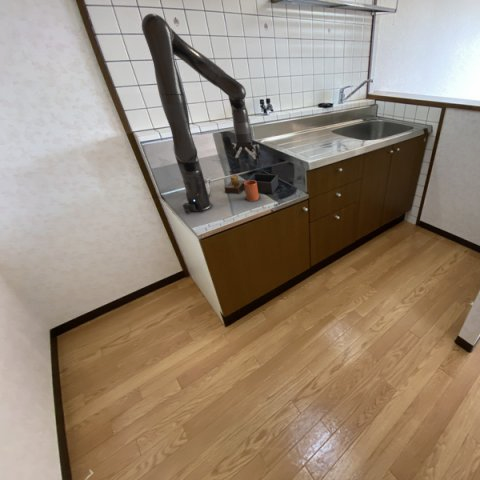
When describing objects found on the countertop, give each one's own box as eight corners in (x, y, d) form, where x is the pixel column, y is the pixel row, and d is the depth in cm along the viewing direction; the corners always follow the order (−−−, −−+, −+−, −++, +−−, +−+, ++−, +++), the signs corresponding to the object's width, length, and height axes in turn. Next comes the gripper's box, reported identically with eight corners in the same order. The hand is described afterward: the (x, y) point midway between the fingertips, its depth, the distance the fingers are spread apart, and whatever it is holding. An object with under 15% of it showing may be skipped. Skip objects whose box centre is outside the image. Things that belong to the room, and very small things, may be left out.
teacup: (198, 202, 141) (193, 188, 136) (186, 197, 146) (182, 183, 142) (220, 193, 150) (217, 179, 145) (209, 188, 155) (205, 175, 151)
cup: (256, 201, 142) (253, 185, 137) (244, 200, 143) (241, 184, 137) (260, 196, 147) (258, 180, 142) (249, 195, 148) (246, 179, 143)
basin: (272, 193, 149) (271, 182, 146) (248, 191, 151) (246, 181, 148) (278, 185, 159) (277, 174, 155) (255, 183, 161) (254, 173, 157)
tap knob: (237, 185, 151) (235, 177, 148) (230, 185, 152) (228, 176, 149) (240, 182, 154) (238, 174, 152) (233, 182, 155) (231, 174, 152)
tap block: (239, 193, 150) (238, 188, 148) (225, 192, 151) (224, 187, 149) (246, 185, 159) (245, 180, 157) (233, 184, 160) (232, 179, 158)
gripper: (224, 132, 123) (231, 167, 133) (254, 134, 121) (258, 168, 131) (231, 128, 129) (237, 162, 139) (260, 130, 127) (264, 163, 137)
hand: (247, 165), depth 135 cm, fingers open, 8 cm apart
